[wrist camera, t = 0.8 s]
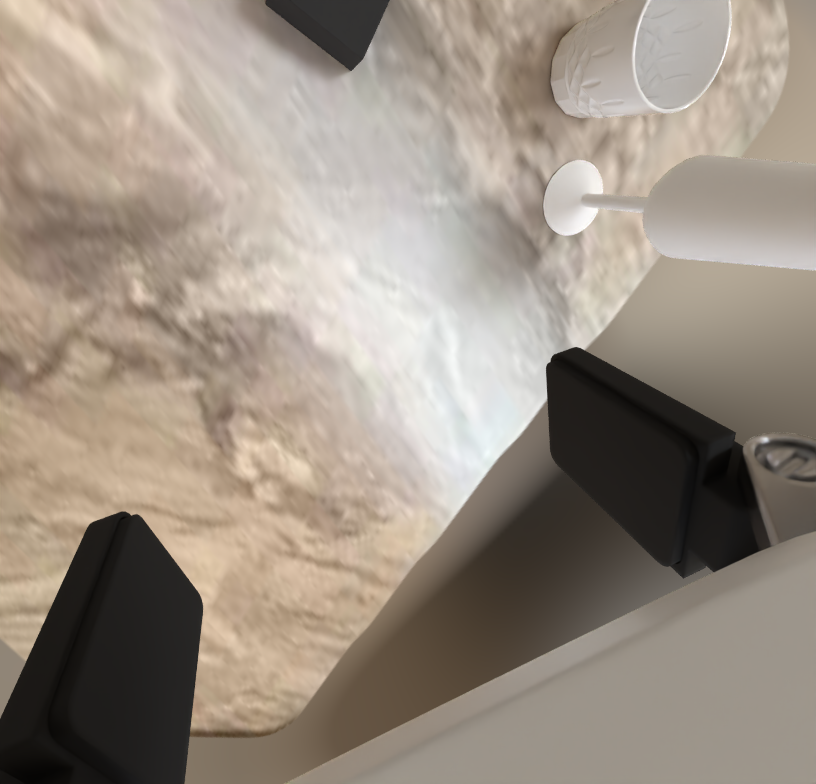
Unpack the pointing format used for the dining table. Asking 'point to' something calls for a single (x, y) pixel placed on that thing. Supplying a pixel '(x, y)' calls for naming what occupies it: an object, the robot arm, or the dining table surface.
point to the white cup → (641, 57)
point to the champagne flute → (705, 209)
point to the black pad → (335, 24)
